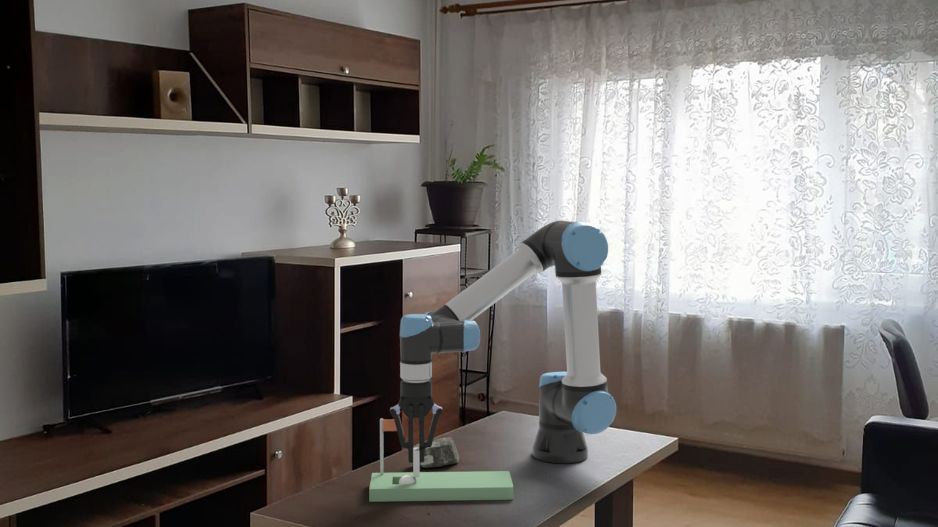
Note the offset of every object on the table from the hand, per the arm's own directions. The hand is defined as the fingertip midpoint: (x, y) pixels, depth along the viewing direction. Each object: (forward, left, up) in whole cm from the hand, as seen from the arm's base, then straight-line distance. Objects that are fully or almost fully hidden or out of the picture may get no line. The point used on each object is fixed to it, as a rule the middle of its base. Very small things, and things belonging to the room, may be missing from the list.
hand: (416, 475), depth 224 cm
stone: (-5, -21, -5) cm, 22 cm away
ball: (+2, 0, -2) cm, 3 cm away
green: (-6, 0, -4) cm, 7 cm away
